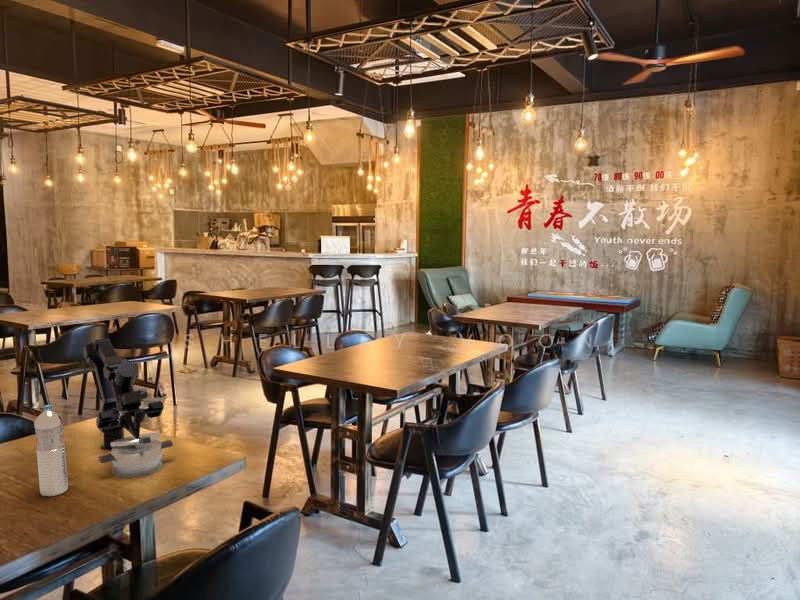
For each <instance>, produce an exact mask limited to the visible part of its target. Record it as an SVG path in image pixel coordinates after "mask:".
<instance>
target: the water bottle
mask: <svg viewBox="0 0 800 600" xmlns="http://www.w3.org/2000/svg"><path fill="white" fill-rule="evenodd" d="M52 407H53V406H52V404H45V405H43V410H44V411H42V412H41V413H40V414H39V415H38V416H37V418H36V419H35V420H34V422H33V424H34V427H33V428H34V429H35V430H34V431H35V441H36V443H35V444H36V458H37V471H38V472H37V473H38V484H39V492H40V495H41V496H42V497H46V496H48V497H55V496H59V495H62V494H64V493H65V492H66V491H67V490H68V489H69V479H68V478H69V477H68V468H67V455H66V452H67V451H66V444H65V433H64V418H63V416H62V414H61V415H60V413H58V412H57V411H54V410H52Z"/></svg>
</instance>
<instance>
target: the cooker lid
mask: <svg viewBox="0 0 800 600" xmlns="http://www.w3.org/2000/svg"><path fill="white" fill-rule="evenodd" d="M159 438H161V432H148V433H142V434H140V435H139V438H137V439H136V438H135V437H134V436H133V435H131V436H125V437H124V438H122V439H119V440H115V441H113V442H111V443H110V444H111V447H122V446H129V445H134V444H139V443H142V444H145V443H150V442H151V440H158V439H159Z"/></svg>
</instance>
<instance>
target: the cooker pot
mask: <svg viewBox="0 0 800 600" xmlns="http://www.w3.org/2000/svg"><path fill="white" fill-rule="evenodd" d="M173 444H174V443H173V441H172V440H171V439H168V440H164V441H160V440H158V439H155V440H151V442H150V443H145V444H142V443H139V444H134V445H129V446H122V447H113V448H112V449H110V450H111V451H110V453H108V454H105V455H100V456H98V462H99V463H100V464H105V463H109V462H110V463H111V469H112V475H113V476H114V477H116V478H118V479H119V478H120V479H136V478H142V477H146V476H149V475H152V474H155V473H156V472H159V470H160V468H161V467H162V468H163V455H162V454H163V451H162V450H163V449H166V448H172V447H173ZM162 468H161V469H162Z"/></svg>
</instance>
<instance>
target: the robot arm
mask: <svg viewBox="0 0 800 600" xmlns="http://www.w3.org/2000/svg"><path fill="white" fill-rule="evenodd" d="M82 351H83V357H84V359H86V363H87V365H88V366H89V367H90V368H92V369H93V370H94V373H95V376H96V381H97V385H98V388H99V392H100V397H101V400H102V404H103V405H102V407H101V410H100V411H99V412H98V413H97V416H96V420H95V425H96V428H97V429H98V430H99V432H101V433H103V445H101V446H100V449H103V450H108V449H109V450H112V448H113V447H111V444H110V443H111V442H113V441H115V440H119V439H122V438H125V432H124V431H125V430H126V431H127V432H128V433H130V434H131V436H134V437H135V438H136V439H137V438H139V435H141V434H140V431H141V423H143V422H144V420H145V417H148V418H149V419H153V418H158V417H160V416H161V415H162V413H163V411H164V408H165V405H164V404H163V402H162V401H161V400H155V401H150V402H148V403H147V406H146V407H142V408H140V407H141V406H142V402H143V400H146V399H148V395H149V394H148V391H147V389H146V387H143V388H139V389H138V390H136V391H135V390H134V386H133V385H134V384H135V382H136V378H137V375H138V372H139V368H138V366H137V365H136V364H135V363H133V362H129V359H126V358H124V357H121V356H119V355H118V353H117V352H116V350H115V348H114V347H113V345H112V340H111V338H100V339H95V340H93V341H92V342H91V343H88V344H87V345H85V346H84V348H83V350H82ZM132 417H133V418H132Z"/></svg>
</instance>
